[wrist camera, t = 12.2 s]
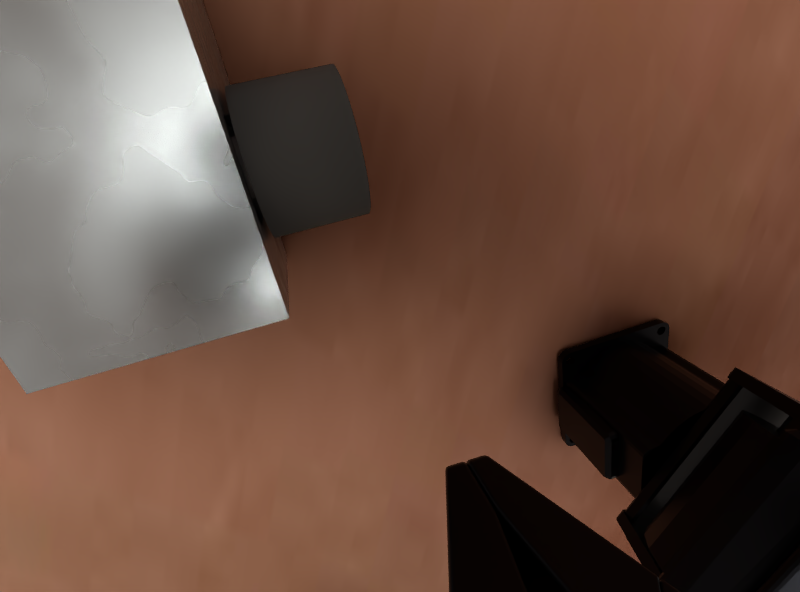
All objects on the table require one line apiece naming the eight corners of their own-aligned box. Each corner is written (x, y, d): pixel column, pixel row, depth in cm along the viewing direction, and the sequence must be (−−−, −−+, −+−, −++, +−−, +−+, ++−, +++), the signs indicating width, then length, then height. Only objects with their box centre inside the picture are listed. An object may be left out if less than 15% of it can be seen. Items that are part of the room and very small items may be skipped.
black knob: (324, 71, 14) (340, 54, 11) (355, 200, 16) (379, 227, 12) (-74, 154, 13) (-233, 171, 9) (11, 287, 15) (-88, 352, 11)
